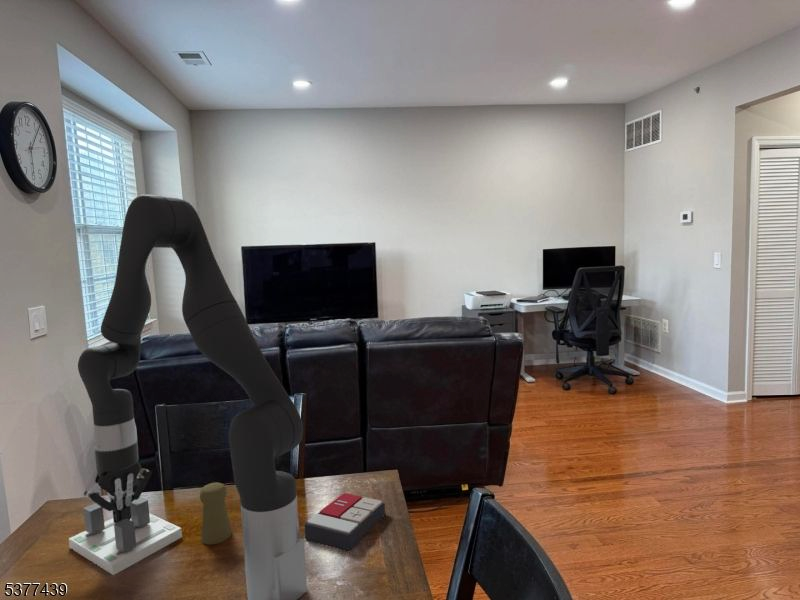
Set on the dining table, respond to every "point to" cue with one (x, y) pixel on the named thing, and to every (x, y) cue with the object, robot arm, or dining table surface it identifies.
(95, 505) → the far breaker handle
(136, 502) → the middle breaker handle
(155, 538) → the breaker panel
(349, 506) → the calculator
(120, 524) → the handle
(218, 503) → the cork
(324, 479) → the dining table surface
